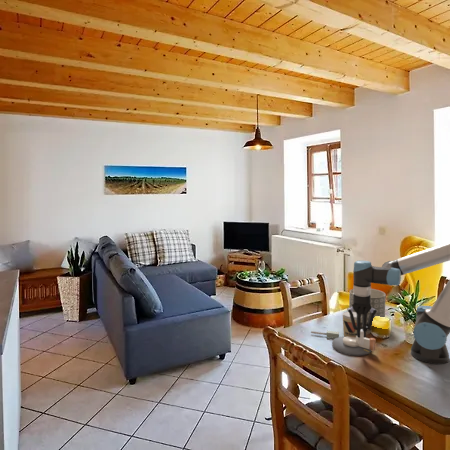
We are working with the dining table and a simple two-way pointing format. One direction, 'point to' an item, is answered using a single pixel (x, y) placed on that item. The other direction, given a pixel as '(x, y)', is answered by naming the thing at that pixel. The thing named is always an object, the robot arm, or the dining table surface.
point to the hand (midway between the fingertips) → (361, 343)
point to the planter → (373, 303)
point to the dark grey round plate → (348, 348)
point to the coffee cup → (349, 324)
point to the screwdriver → (328, 334)
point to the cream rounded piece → (355, 342)
